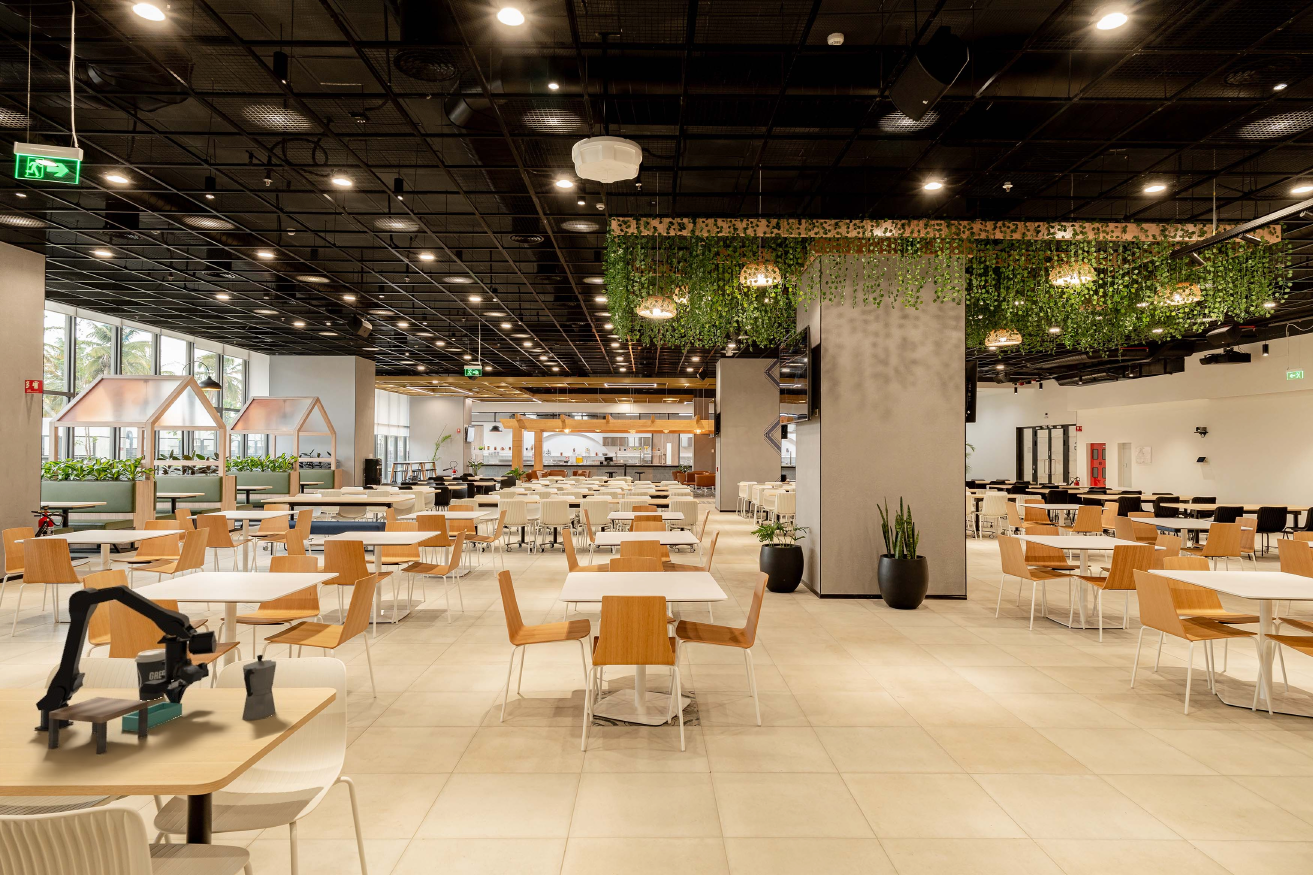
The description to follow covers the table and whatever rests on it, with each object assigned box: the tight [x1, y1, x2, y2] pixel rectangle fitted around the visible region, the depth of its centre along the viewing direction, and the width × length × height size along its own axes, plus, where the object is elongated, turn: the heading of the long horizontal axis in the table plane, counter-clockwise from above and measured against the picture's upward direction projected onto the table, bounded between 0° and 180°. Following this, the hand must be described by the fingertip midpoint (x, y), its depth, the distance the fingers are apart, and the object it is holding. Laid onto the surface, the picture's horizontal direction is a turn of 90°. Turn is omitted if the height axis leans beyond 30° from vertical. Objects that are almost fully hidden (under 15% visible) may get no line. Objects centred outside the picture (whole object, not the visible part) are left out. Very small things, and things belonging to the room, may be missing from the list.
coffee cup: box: [134, 648, 165, 701], centre depth 231 cm, size 10×10×15 cm
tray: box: [121, 701, 183, 732], centre depth 208 cm, size 7×13×4 cm, turn 166°
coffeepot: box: [242, 654, 277, 721], centre depth 213 cm, size 15×9×18 cm, turn 6°
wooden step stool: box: [47, 696, 149, 755], centre depth 194 cm, size 18×13×10 cm
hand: (175, 707), depth 216 cm, fingers closed
